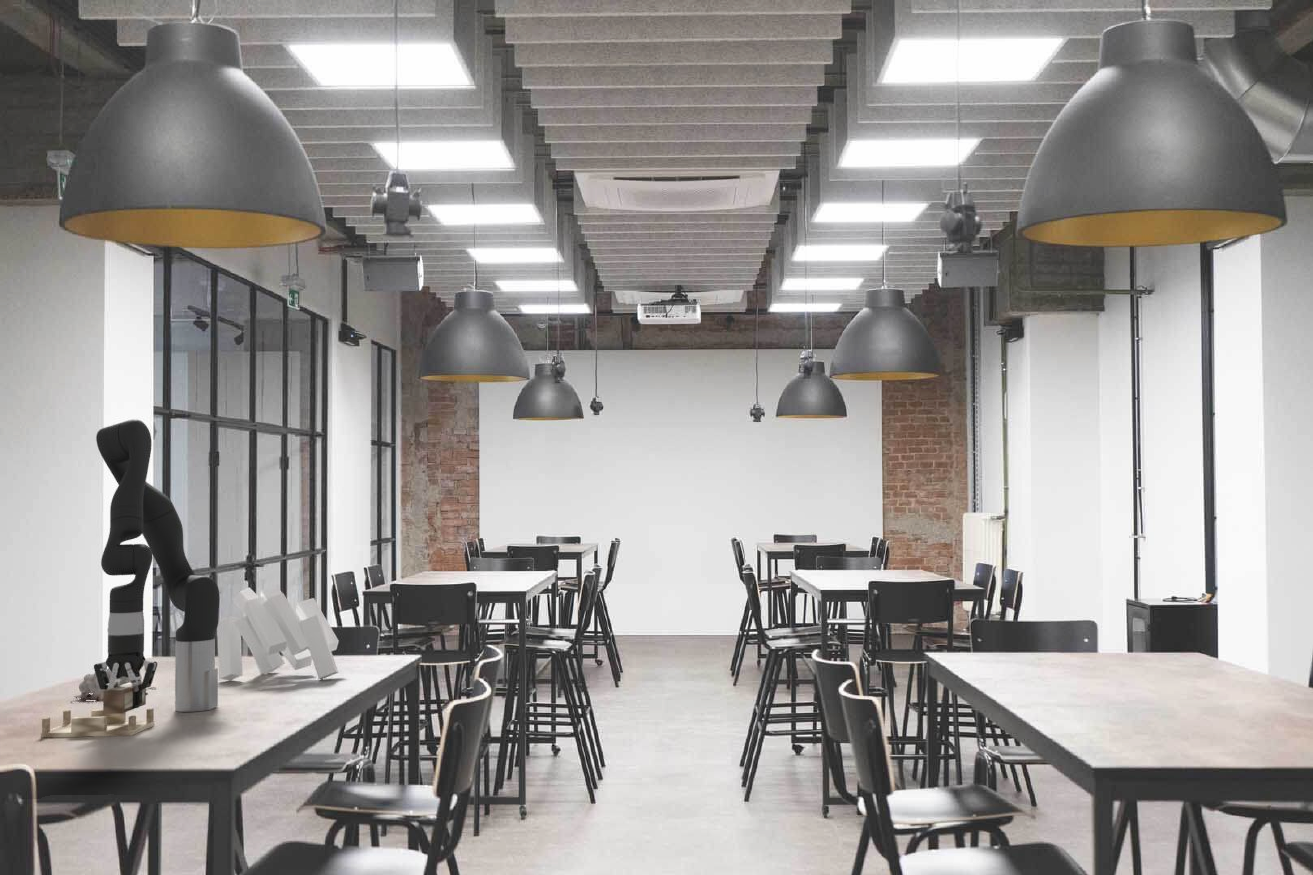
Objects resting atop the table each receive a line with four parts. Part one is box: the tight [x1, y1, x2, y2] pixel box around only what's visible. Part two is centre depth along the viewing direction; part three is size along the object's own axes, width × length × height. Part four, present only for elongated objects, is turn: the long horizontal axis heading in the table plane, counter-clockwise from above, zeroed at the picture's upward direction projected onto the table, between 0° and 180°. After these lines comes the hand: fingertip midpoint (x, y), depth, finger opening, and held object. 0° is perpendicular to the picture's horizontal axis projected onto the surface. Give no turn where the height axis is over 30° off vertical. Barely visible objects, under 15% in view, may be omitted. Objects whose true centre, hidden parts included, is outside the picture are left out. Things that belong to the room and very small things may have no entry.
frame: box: [102, 683, 147, 714], centre depth 262 cm, size 4×12×5 cm, turn 0°
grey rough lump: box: [70, 667, 157, 703], centre depth 315 cm, size 19×10×30 cm
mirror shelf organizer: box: [40, 707, 155, 738], centre depth 262 cm, size 20×12×4 cm, turn 91°
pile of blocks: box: [216, 585, 340, 681], centre depth 343 cm, size 35×30×35 cm
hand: (125, 707), depth 262 cm, fingers closed on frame, 4 cm apart
